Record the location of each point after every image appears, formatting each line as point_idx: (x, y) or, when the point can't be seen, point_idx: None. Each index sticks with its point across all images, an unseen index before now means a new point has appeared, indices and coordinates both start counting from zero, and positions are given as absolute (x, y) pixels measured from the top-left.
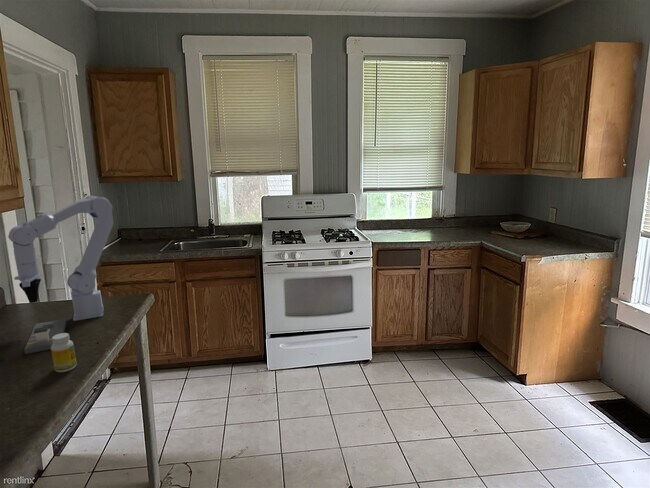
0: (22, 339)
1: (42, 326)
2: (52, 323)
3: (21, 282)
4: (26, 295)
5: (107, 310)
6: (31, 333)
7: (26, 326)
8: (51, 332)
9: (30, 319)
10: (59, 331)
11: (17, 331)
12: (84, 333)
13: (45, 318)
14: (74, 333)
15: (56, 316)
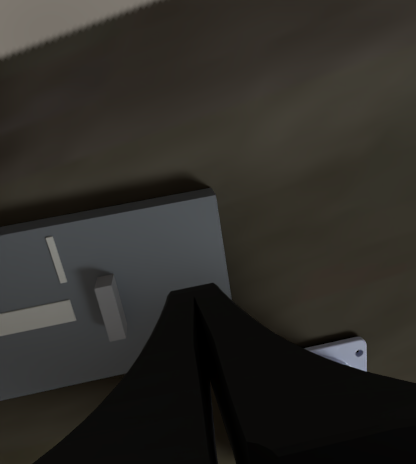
0: (18, 167)
1: (144, 257)
2: (112, 337)
3: (355, 444)
4: (148, 341)
5: None
6: (23, 231)
7: (270, 107)
8: (13, 346)
9: (406, 86)
10: (20, 383)
11: (189, 75)
12: (35, 460)
13: (375, 185)
14: (48, 418)
15: (379, 241)
